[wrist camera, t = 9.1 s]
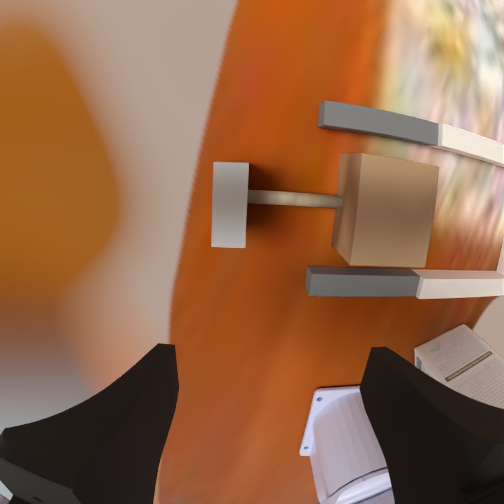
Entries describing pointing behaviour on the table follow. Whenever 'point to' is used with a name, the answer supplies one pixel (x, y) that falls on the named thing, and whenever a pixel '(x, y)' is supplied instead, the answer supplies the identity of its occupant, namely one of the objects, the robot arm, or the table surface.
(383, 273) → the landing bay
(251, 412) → the table surface
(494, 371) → the syrup box
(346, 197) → the lopsided dumbbell
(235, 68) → the table surface
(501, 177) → the table surface
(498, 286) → the frame
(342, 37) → the table surface
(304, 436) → the robot arm
